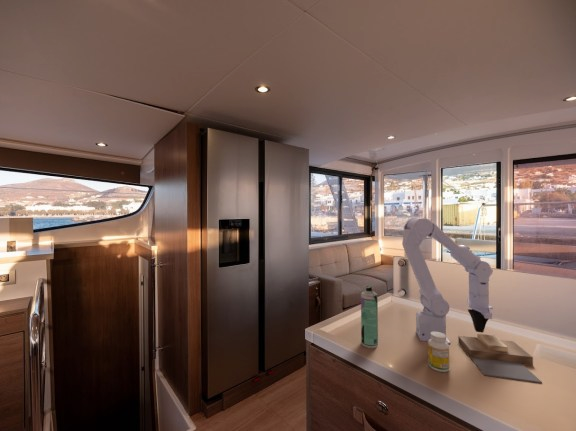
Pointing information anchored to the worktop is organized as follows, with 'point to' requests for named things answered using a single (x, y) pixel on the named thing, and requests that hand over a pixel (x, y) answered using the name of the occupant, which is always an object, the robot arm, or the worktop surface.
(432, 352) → the supplement bottle
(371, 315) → the spray can
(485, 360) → the rubber mat
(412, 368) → the worktop surface
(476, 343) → the walnut deck
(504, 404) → the worktop surface
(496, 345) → the birch tile
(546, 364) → the worktop surface
